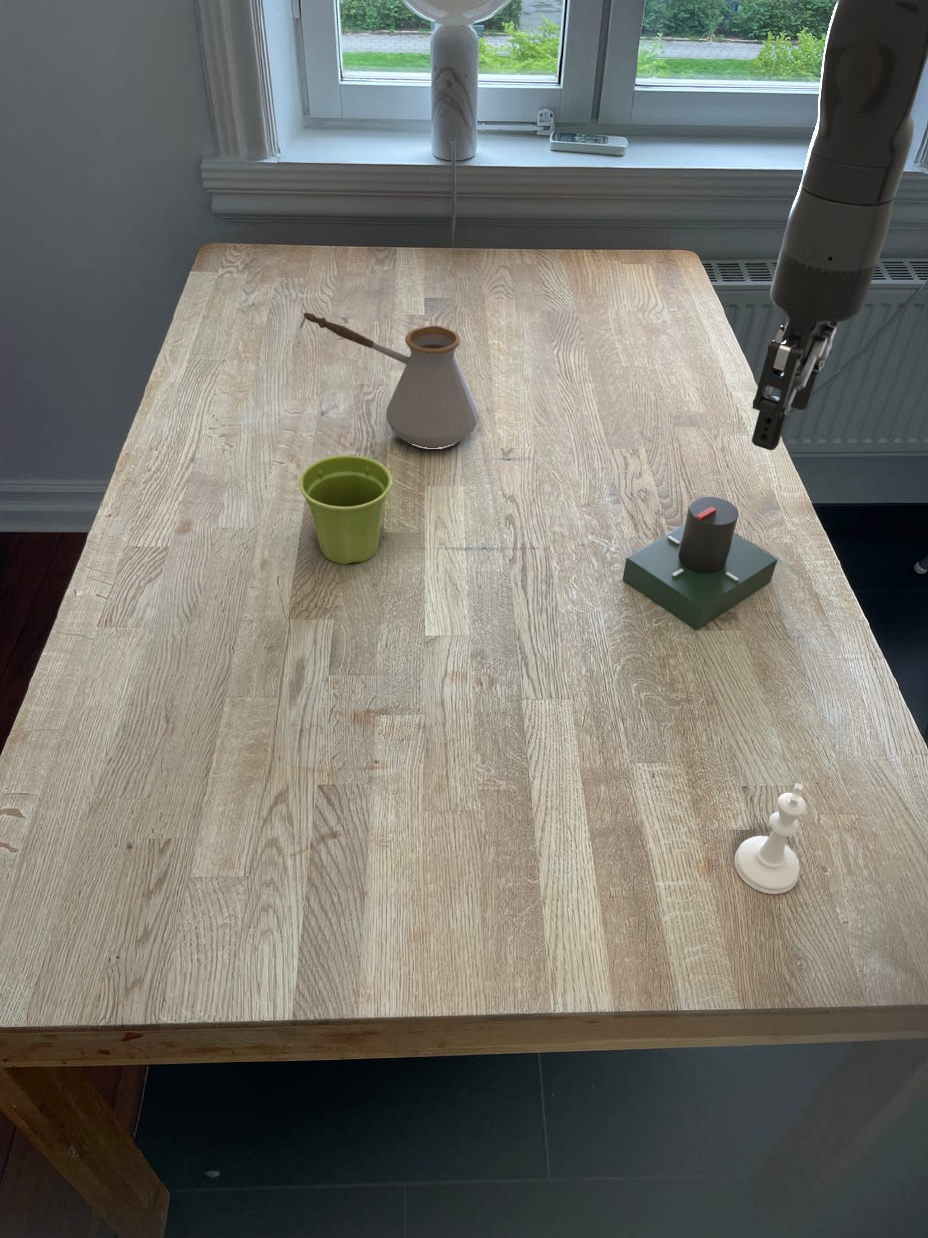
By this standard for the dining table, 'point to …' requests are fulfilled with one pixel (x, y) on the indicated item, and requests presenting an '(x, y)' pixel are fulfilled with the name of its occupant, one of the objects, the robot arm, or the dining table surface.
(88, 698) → the dining table surface
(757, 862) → the chess piece
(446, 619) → the dining table surface
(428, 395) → the coffee pot
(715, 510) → the knob
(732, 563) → the panel
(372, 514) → the plant pot
